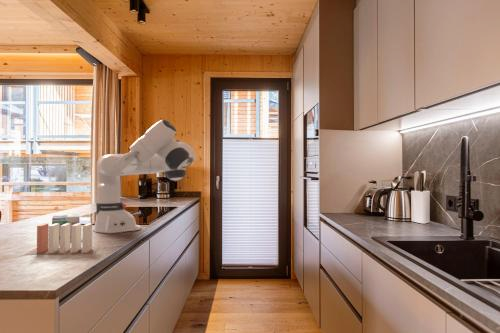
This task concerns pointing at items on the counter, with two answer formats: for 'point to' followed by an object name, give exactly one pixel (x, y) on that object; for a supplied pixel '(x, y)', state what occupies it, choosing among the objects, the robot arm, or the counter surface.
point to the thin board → (34, 252)
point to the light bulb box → (66, 221)
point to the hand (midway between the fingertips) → (114, 177)
